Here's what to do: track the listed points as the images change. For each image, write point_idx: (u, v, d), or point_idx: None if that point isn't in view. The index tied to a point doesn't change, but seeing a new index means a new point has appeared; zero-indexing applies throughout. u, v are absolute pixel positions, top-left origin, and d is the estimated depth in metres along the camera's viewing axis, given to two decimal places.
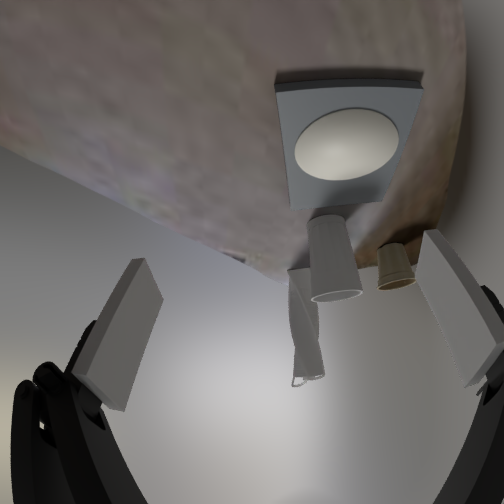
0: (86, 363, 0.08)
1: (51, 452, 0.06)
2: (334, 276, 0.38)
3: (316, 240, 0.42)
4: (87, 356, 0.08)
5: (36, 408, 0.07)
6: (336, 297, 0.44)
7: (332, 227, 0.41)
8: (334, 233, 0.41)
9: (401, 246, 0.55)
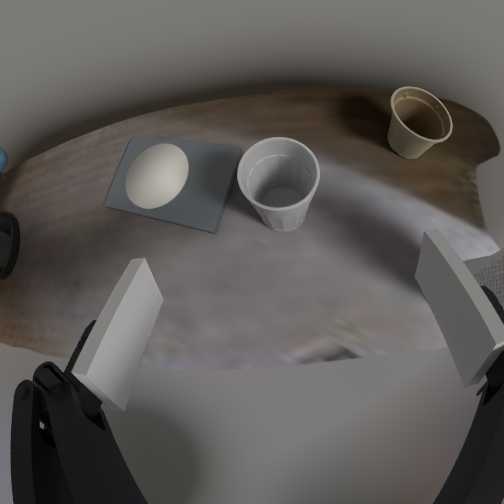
0: (86, 363, 0.08)
1: (51, 452, 0.06)
2: None
3: None
4: (87, 356, 0.08)
5: (36, 408, 0.07)
6: (315, 178, 0.26)
7: None
8: None
9: None
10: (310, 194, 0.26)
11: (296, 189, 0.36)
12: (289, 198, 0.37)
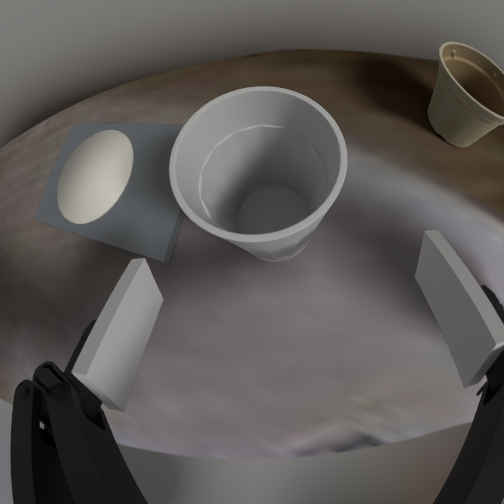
0: (86, 363, 0.08)
1: (51, 452, 0.06)
2: None
3: None
4: (87, 356, 0.08)
5: (36, 408, 0.07)
6: (337, 166, 0.12)
7: None
8: None
9: None
10: (328, 202, 0.11)
11: (295, 189, 0.22)
12: (284, 205, 0.22)
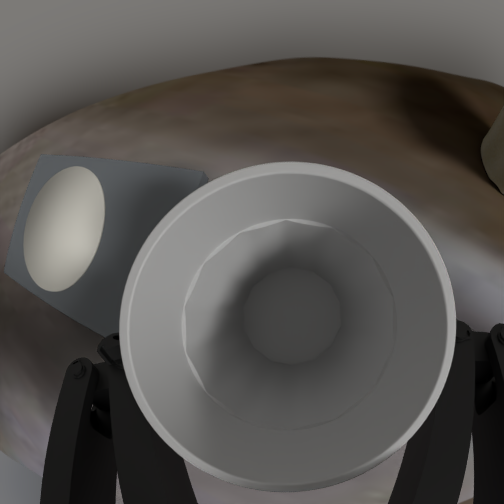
0: None
1: (98, 440, 0.07)
2: None
3: None
4: None
5: (90, 391, 0.07)
6: (431, 354, 0.05)
7: None
8: None
9: None
10: (407, 434, 0.05)
11: (325, 278, 0.15)
12: (307, 298, 0.16)
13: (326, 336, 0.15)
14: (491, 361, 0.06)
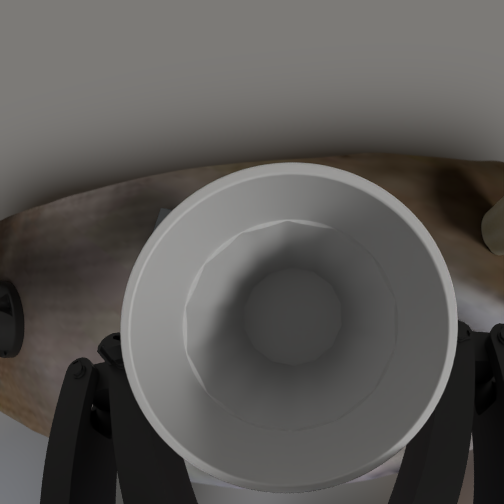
0: None
1: (98, 440, 0.07)
2: None
3: None
4: None
5: (90, 391, 0.07)
6: (433, 356, 0.05)
7: None
8: None
9: (487, 212, 0.27)
10: (409, 435, 0.05)
11: (326, 278, 0.15)
12: (308, 298, 0.16)
13: (327, 337, 0.15)
14: (491, 361, 0.06)
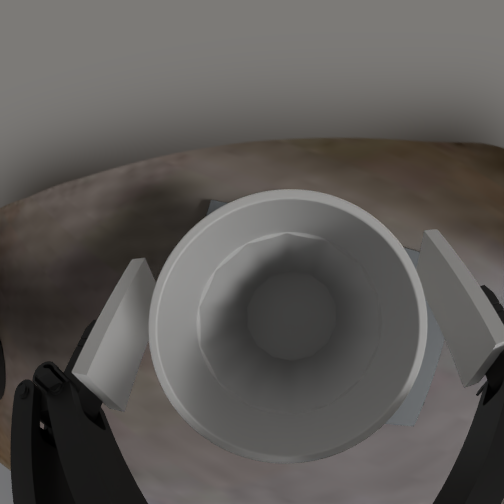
0: (86, 363, 0.08)
1: (51, 452, 0.06)
2: None
3: None
4: (87, 356, 0.08)
5: (36, 408, 0.07)
6: (407, 348, 0.07)
7: None
8: None
9: None
10: (388, 414, 0.06)
11: (321, 281, 0.17)
12: (306, 299, 0.17)
13: (323, 334, 0.17)
14: None
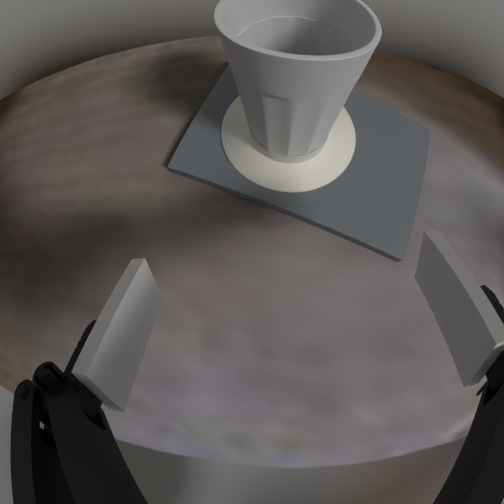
0: (86, 363, 0.08)
1: (51, 452, 0.06)
2: None
3: (247, 115, 0.18)
4: (87, 356, 0.08)
5: (36, 408, 0.07)
6: (372, 36, 0.10)
7: None
8: None
9: None
10: (365, 49, 0.09)
11: None
12: None
13: None
14: None
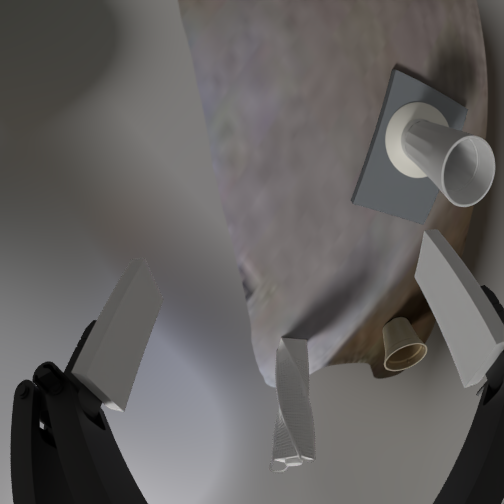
0: (86, 363, 0.08)
1: (51, 452, 0.06)
2: None
3: (426, 125, 0.27)
4: (87, 356, 0.08)
5: (36, 408, 0.07)
6: (457, 201, 0.24)
7: None
8: None
9: None
10: (448, 196, 0.23)
11: None
12: None
13: None
14: None
